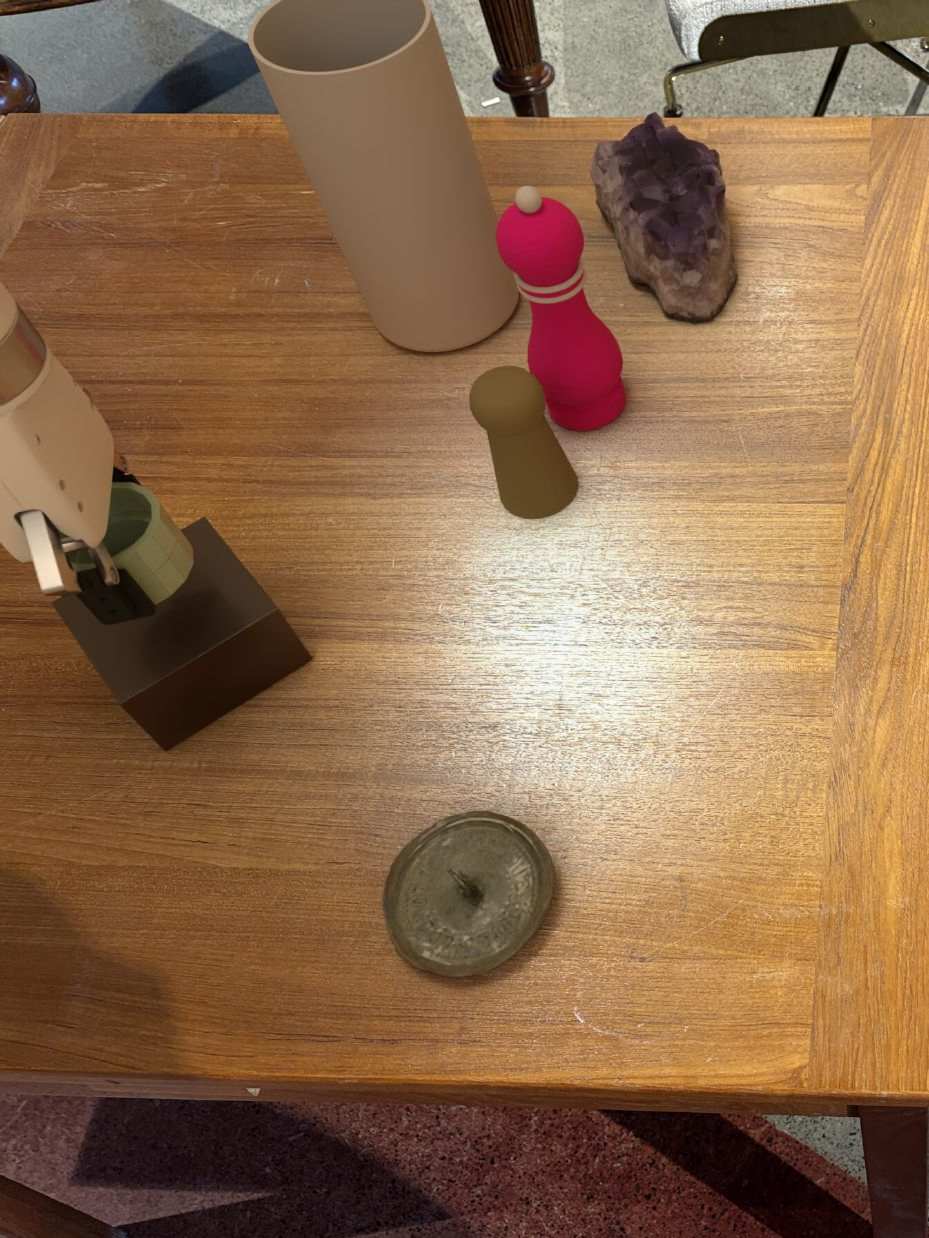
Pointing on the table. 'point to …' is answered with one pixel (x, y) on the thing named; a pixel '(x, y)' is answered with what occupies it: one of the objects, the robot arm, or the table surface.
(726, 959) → the table surface
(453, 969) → the lid
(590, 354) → the pepper mill
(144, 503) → the bowl
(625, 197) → the geode
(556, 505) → the brown peg doll
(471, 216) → the cylinder vase
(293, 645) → the stand
